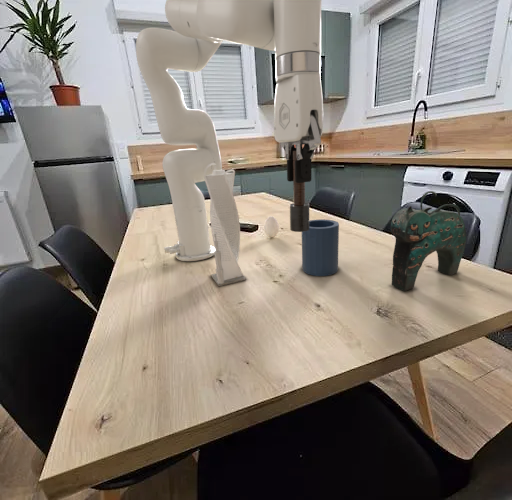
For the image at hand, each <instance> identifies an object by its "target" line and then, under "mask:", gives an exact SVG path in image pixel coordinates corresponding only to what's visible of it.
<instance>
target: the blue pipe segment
mask: <svg viewBox="0 0 512 500" xmlns="http://www.w3.org/2000/svg"><path fill="white" fill-rule="evenodd" d="M339 237H340V222H338V221H336V220H333V219H325V218H324V219H322V218H321V219H309V230H308V231H304V232H301V260H302V261H301V267H302V272H303V273H305V274H307V275H310V276H316V277H327V276H331V275H334V274H336V273H337V272H338V271H339Z"/></svg>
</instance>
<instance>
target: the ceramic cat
mask: <svg viewBox="0 0 512 500" xmlns="http://www.w3.org/2000/svg"><path fill="white" fill-rule="evenodd" d="M428 194H432V195H433V196H434V198H436V197H437V192H436V191H433V190H429V191H426V192H424V193H423V194H422V195H421V198H420V203H419V208H420V209H414V208H412V205H409V207H408V208H406V207H405V208H401V209H399V210H398V211H396V212H395V213H394V215H393V217H392V219H391V223H390V232H391V234H392V236H393V237H394V238H395V243H394V249H393V254H392V269H391V286H393V287H394V288H396V289H398V290H400V291H403V292H407V291H410V290H413V289H414V287H415V285H416V282H417V277H418V274H419V272H420V269H421V268H422V265H423V264H424V261H425V260H426V258H427V257H428V256H429V255H431V254H433V253H435V252H436V254H437V271H438V273H441V274H444V275H449V276H452V275H455V274H457V273H458V271H459V268H460V264H461V261H462V258H463V255H464V252H465V250H466V244H467V230H466V224H465V221H464V219H463V218H462V216H461V209H460V207H459V206H458V205H457V204H452V203H447V204H442V205H440V206H439V207H437V208H435V209H433V206H431V207H430V206H429V207H425V208H423V201H424V199H425V197H426V196H427V195H428ZM445 207H452V208H455V209H456V211H457V212H454V211H451V210H443V208H445Z"/></svg>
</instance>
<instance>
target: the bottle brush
mask: <svg viewBox="0 0 512 500" xmlns="http://www.w3.org/2000/svg"><path fill="white" fill-rule="evenodd" d="M295 160H297V151H293V181H292V186H293V187H292V189H293V191H292V192H293V203H290V204H289V230H290V231H291V232H295V233H302V232H304V231H308V230H309V221H310V204H309V203H308V202H306V182H302V183H296V182H295Z"/></svg>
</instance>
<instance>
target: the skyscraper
mask: <svg viewBox="0 0 512 500" xmlns="http://www.w3.org/2000/svg"><path fill="white" fill-rule="evenodd" d="M211 165H215V167H214V171H213V174H211V175H206V171H207V168H208V167H209V166H211ZM205 175H206V176H205ZM235 177H236V171H235V169H232V168H231V169H227V170H225V169H222V170H216V164H215V163H211V164H209V165H208V166H207V167H206V169H205V172H204V179H205V181H204V182H205V186H206V190H207V192H208V194H209V198H210V202H209V203H210V205H209V206H210V207H209V219H210V228H211V229H210V230H211V236H212V241H213V247H215V252H214V255H213V256H214V260H215V264H216V265H215V273H212V274H211V275H210V276H211V278H212V280H213V281H214V282H215V283H216V285H217V286H218V287H222V286H227V285H230V284H234V283H235V284H236V283H240V282H242V281H243V282H244V281H246V280H247V278H246V277H245V275H244V274H243V271H242V270H241V266H240V265H239V257H240V247H241V222H240V217H239V211H238V206H237V203H236V199H235V196H234V194H233V192H234V184H235Z"/></svg>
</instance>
